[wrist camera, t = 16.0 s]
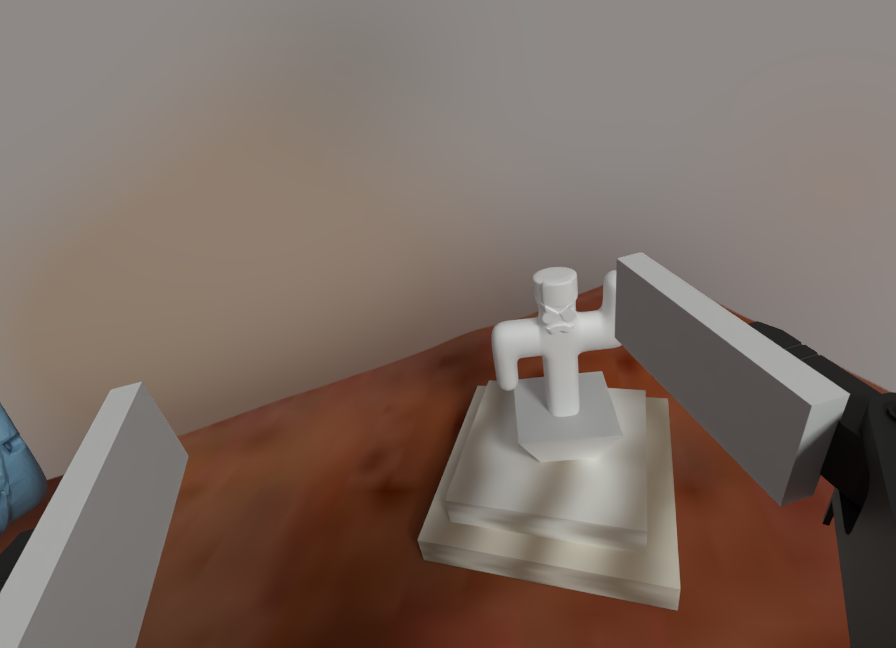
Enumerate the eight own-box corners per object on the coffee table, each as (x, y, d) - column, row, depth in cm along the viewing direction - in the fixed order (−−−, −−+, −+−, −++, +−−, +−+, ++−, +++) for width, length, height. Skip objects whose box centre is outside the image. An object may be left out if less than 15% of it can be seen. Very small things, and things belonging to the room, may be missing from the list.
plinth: (423, 559, 39) (410, 519, 36) (481, 403, 53) (474, 366, 50) (677, 610, 33) (683, 566, 30) (666, 419, 47) (669, 377, 44)
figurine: (504, 413, 44) (481, 259, 36) (615, 403, 43) (616, 241, 35) (508, 479, 38) (482, 310, 30) (638, 470, 37) (645, 291, 29)
